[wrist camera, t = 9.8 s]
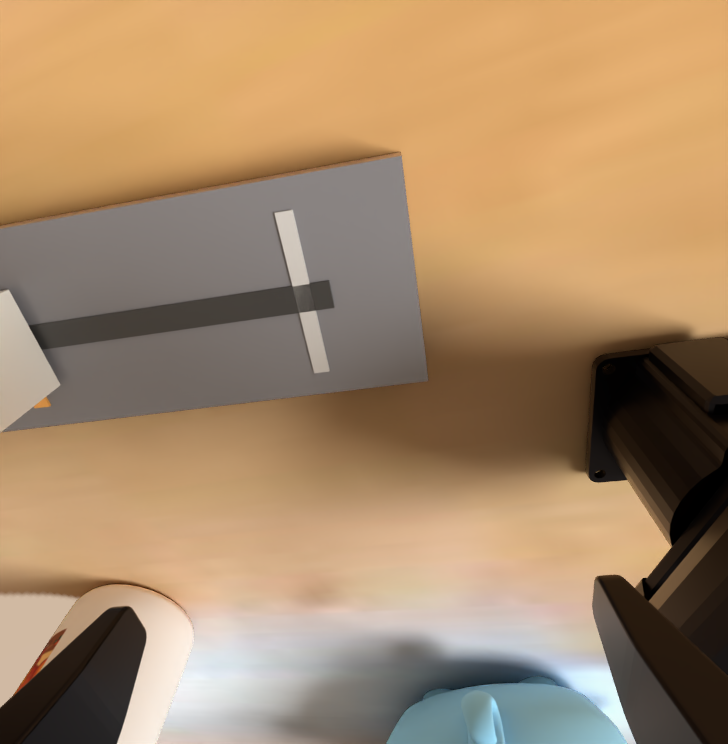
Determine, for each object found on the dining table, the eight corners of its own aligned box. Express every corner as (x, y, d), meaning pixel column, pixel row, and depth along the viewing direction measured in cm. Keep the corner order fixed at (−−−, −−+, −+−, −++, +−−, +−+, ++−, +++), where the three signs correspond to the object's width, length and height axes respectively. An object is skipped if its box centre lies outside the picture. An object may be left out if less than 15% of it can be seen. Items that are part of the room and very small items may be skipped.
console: (425, 357, 20) (428, 382, 18) (-67, 419, 23) (-107, 446, 21) (400, 151, 16) (401, 156, 14) (-182, 258, 19) (-244, 273, 17)
